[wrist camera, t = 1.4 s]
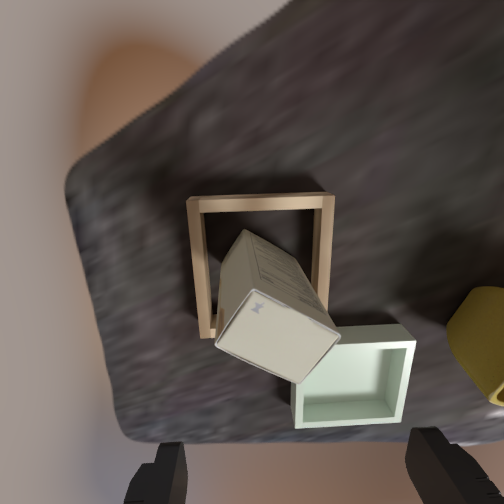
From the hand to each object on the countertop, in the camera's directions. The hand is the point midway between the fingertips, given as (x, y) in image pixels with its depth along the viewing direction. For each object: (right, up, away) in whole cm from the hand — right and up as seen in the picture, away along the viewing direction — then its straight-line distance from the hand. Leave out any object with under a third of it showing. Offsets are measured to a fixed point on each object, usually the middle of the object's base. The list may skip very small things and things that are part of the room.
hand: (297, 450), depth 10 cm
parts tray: (+9, -6, +22) cm, 24 cm away
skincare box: (-1, +6, +18) cm, 19 cm away
